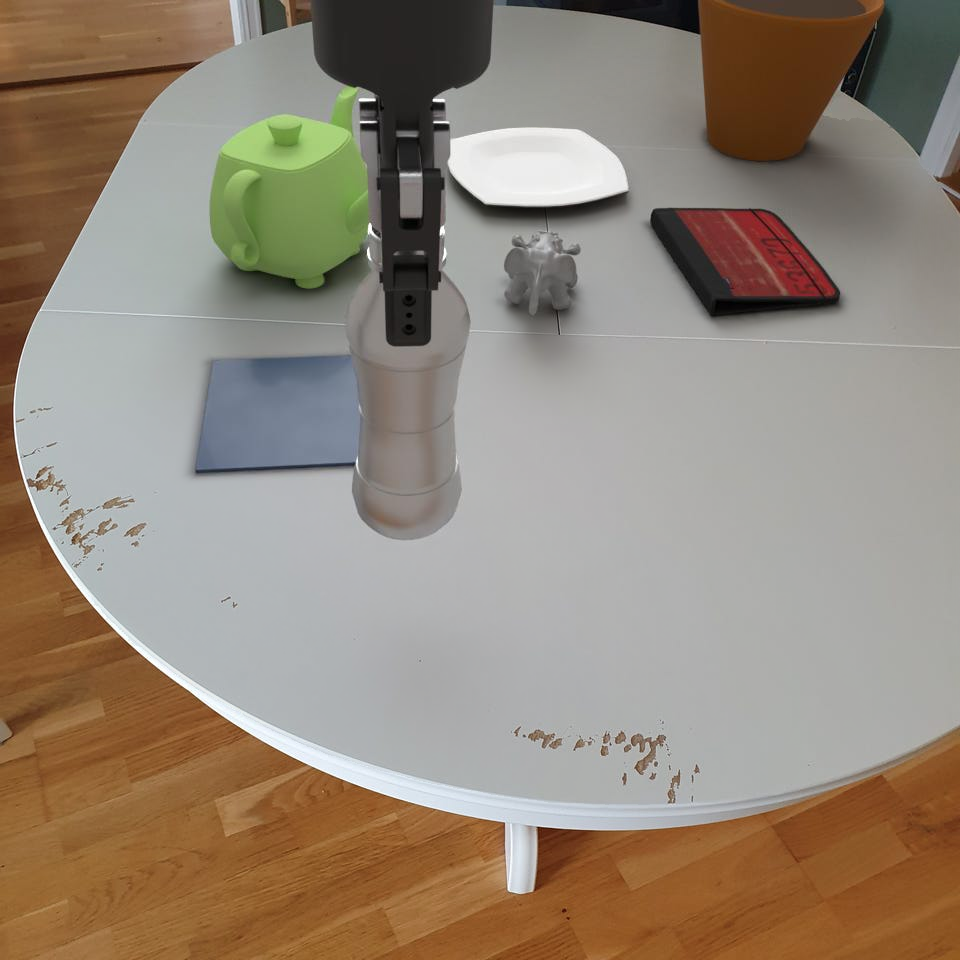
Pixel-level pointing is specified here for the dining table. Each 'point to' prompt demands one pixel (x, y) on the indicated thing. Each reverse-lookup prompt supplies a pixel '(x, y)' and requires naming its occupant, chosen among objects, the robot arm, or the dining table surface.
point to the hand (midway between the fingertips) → (405, 305)
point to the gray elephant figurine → (541, 269)
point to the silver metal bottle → (406, 408)
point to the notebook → (742, 259)
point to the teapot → (292, 195)
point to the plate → (536, 167)
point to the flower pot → (775, 68)
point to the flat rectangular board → (280, 414)
